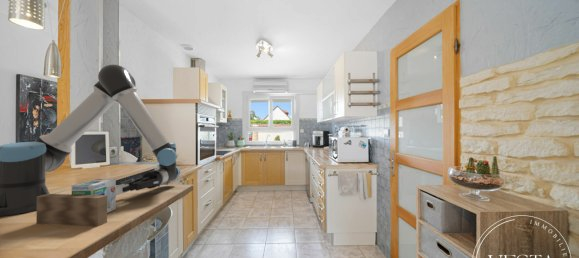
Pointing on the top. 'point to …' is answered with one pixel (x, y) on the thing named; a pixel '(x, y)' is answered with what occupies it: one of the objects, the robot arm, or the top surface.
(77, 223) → the walnut board
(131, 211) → the top surface
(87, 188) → the light bulb box
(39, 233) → the top surface
